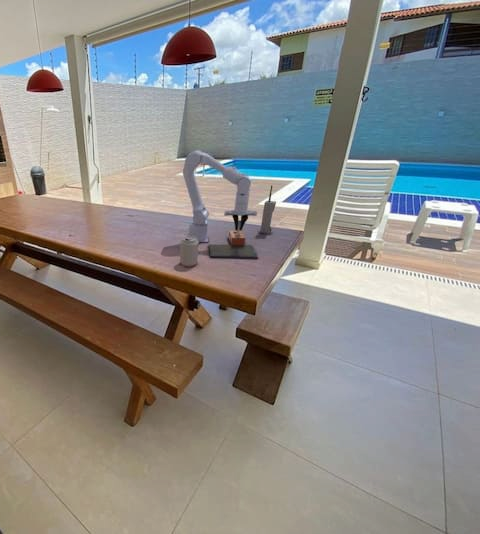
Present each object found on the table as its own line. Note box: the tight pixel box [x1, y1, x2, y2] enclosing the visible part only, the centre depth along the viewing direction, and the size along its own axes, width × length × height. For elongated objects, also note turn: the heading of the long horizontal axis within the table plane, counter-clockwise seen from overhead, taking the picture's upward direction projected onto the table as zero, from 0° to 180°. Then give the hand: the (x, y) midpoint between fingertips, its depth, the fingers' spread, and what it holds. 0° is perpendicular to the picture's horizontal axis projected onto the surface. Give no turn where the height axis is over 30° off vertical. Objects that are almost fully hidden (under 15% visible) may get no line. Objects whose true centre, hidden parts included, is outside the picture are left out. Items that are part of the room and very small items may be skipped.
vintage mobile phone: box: [259, 184, 277, 235], centre depth 159 cm, size 4×5×25 cm
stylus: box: [235, 219, 241, 237], centre depth 150 cm, size 2×2×10 cm
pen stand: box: [228, 230, 246, 245], centre depth 154 cm, size 6×11×4 cm, turn 169°
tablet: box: [208, 243, 259, 260], centre depth 143 cm, size 20×14×1 cm
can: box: [179, 235, 200, 267], centre depth 132 cm, size 8×8×12 cm
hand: (238, 229), depth 150 cm, fingers closed on stylus, 1 cm apart
